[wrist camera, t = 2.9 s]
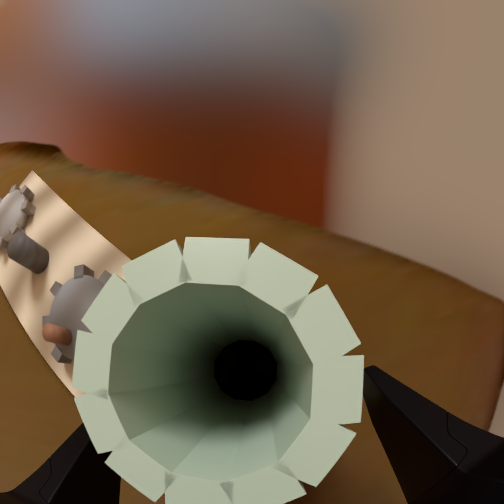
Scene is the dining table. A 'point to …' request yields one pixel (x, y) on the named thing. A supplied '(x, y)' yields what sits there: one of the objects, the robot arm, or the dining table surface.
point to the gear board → (52, 270)
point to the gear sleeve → (204, 383)
